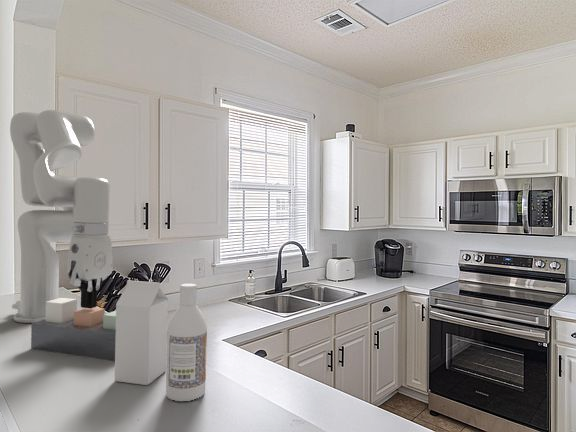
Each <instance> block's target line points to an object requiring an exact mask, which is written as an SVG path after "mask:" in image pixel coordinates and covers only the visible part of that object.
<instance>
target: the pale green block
mask: <svg viewBox="0 0 576 432" xmlns="http://www.w3.org/2000/svg"><path fill="white" fill-rule="evenodd" d="M103 328H104V329H112V330H116V310H114V311H110V312H108V313H105V315H103Z"/></svg>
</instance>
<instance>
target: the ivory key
mask: <svg viewBox="0 0 576 432" xmlns="http://www.w3.org/2000/svg"><path fill="white" fill-rule="evenodd" d="M77 304H78V299H77V298H70V297H69V298H67V297H58V299H55V300H51V301H47V302H46V322H54V323H64V322H67V321H70V320H73V319H74V311H77V310H78V308H77V307H78V305H77Z"/></svg>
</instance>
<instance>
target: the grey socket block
mask: <svg viewBox="0 0 576 432" xmlns="http://www.w3.org/2000/svg"><path fill="white" fill-rule="evenodd" d="M30 329H31V330H30V334H31V336H30V340H31V341H30V349H31V350H36V351H42V352H50V353H56V354H57V353H58V354H64V355H71V356H77V357H78V356H79V357H84V358H92V359H97V360H98V359H99V360H105V361H113V362H115V338H116V330H112V329H104V328H103V322H102V323H100V324H97V325H94V326H92V327H87V326H79V325H74V319H73V320H70V321H67V322H64V323H54V322H46V319H44V320H40V321H37V322H34V323H31V327H30Z"/></svg>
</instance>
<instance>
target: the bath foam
mask: <svg viewBox="0 0 576 432" xmlns="http://www.w3.org/2000/svg"><path fill="white" fill-rule="evenodd" d="M197 287H198V286H197V284H196V283H182V284H180V286H179V305H178V307H177V308H176V310H175V311H174V313H173V314H172V316H171V318H170V320H169V323H168V325H167V360H166V371H165V372H166V374H165V375H166V380H165V381H166V383H165V384H166V386H165V387H166V388H165V394H166V397H167V398H168V399H170V400H171V401H173V400H175V401H174V402H177V401H188V402H191V401H190V400H193V401H195V400H194V399H196V398H198V399H200V398H201V397H203V396H204V394H205V393H206V380H207V379H206V378H207V375H206V373H207V345H208V344H207V343H208V341H207V338H208V329H207V322H206V318H205V317H204V314H203V312H202V311H201V310H200V308H199V306H198V304H197V290H198V289H197ZM199 397H200V398H199ZM196 400H197V399H196Z"/></svg>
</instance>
